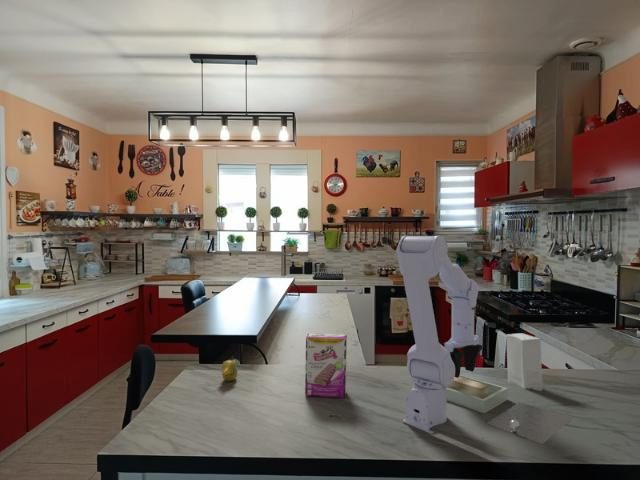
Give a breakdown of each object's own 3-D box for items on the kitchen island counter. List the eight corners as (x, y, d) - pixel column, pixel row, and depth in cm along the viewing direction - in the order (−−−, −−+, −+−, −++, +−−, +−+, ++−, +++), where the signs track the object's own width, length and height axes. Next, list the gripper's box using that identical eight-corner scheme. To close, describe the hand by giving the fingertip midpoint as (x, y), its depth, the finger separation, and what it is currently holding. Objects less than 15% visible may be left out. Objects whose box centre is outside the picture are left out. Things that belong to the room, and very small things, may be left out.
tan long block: (438, 390, 110) (439, 375, 110) (447, 387, 112) (447, 372, 112) (480, 404, 101) (480, 388, 101) (488, 400, 103) (488, 384, 103)
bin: (484, 417, 96) (484, 400, 96) (419, 394, 110) (419, 379, 110) (507, 403, 104) (507, 388, 104) (444, 383, 118) (444, 370, 118)
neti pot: (216, 389, 112) (216, 366, 112) (227, 372, 127) (228, 351, 127) (232, 389, 112) (232, 366, 112) (241, 372, 127) (241, 351, 127)
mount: (542, 449, 81) (542, 431, 81) (485, 427, 90) (485, 412, 90) (572, 422, 93) (572, 407, 93) (519, 406, 102) (519, 392, 102)
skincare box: (543, 391, 112) (543, 339, 112) (523, 392, 111) (523, 339, 111) (523, 381, 120) (524, 332, 120) (505, 381, 120) (505, 332, 119)
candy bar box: (304, 397, 107) (305, 336, 107) (307, 390, 112) (307, 332, 112) (346, 399, 106) (346, 338, 106) (346, 391, 111) (346, 333, 111)
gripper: (462, 329, 99) (462, 383, 99) (490, 321, 108) (489, 371, 108) (437, 324, 104) (437, 376, 104) (466, 317, 114) (465, 365, 114)
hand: (462, 373), depth 107 cm, fingers open, 7 cm apart
